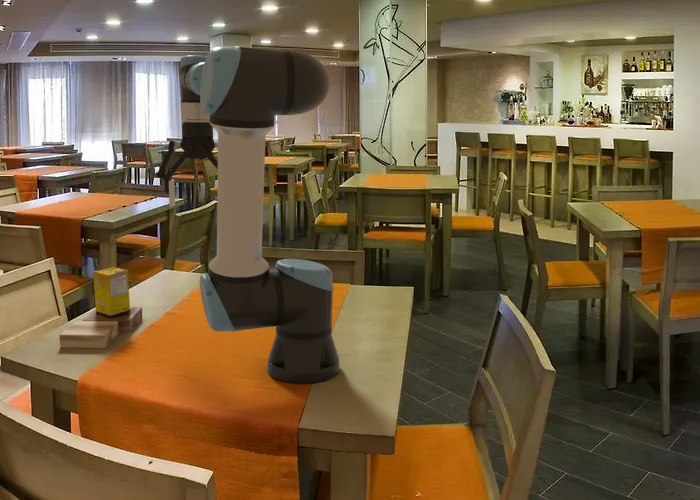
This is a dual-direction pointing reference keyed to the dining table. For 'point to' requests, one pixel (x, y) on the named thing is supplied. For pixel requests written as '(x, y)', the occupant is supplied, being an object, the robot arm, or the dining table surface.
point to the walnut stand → (120, 319)
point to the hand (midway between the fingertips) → (199, 206)
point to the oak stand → (89, 334)
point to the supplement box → (111, 292)
